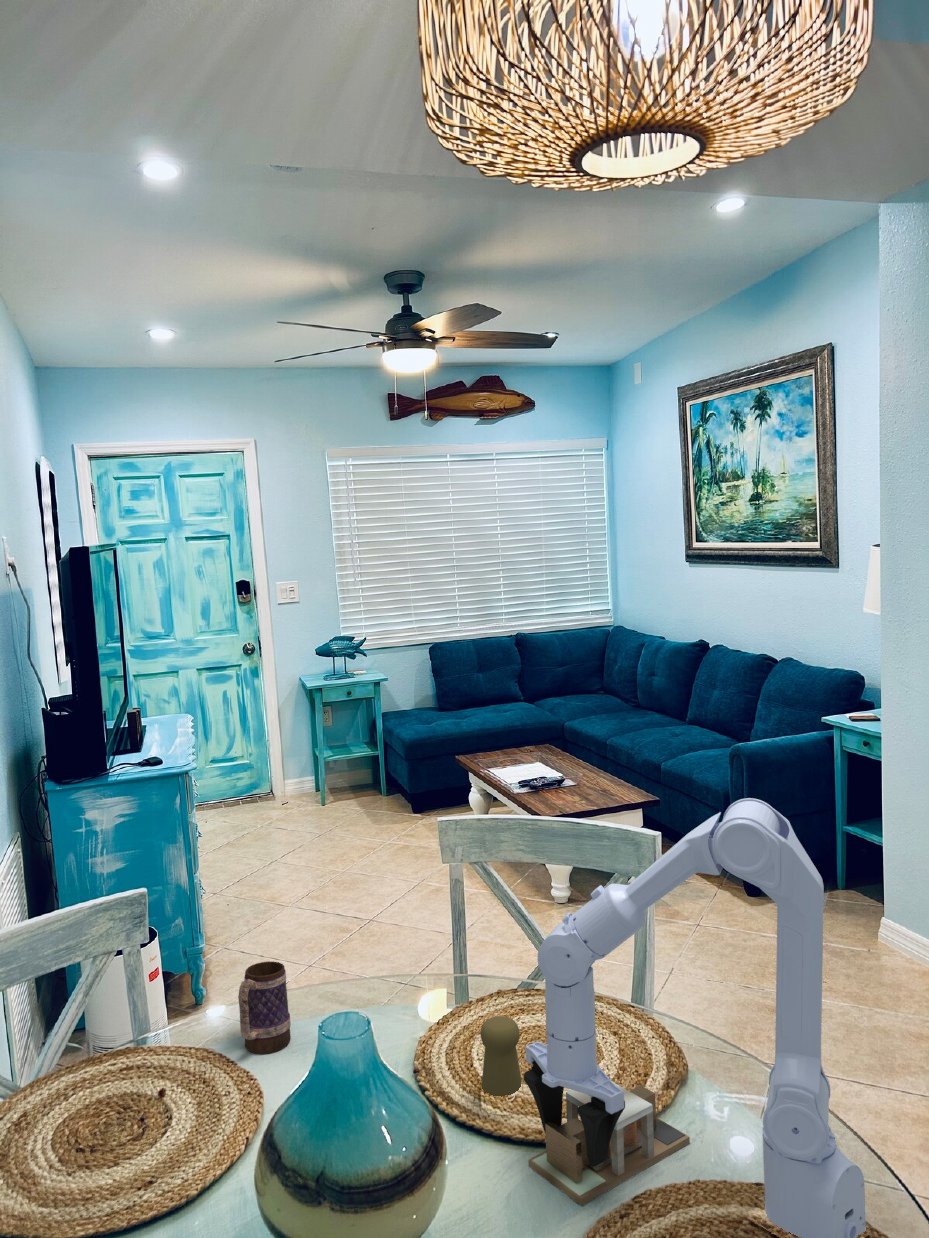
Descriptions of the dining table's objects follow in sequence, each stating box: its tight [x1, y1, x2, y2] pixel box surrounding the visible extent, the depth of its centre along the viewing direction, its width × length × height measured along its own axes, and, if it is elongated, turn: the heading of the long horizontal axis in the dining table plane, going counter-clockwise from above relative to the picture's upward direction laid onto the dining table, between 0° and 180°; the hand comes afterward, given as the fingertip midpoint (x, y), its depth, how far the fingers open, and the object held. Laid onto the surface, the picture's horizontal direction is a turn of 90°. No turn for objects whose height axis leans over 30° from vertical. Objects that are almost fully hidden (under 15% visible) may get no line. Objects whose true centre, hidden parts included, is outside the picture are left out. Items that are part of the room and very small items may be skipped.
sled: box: [545, 1085, 657, 1183], centre depth 106 cm, size 5×15×5 cm, turn 126°
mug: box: [237, 960, 292, 1055], centre depth 135 cm, size 10×7×12 cm
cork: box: [479, 1015, 523, 1097], centre depth 118 cm, size 6×6×11 cm
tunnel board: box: [528, 1081, 691, 1207], centre depth 106 cm, size 9×18×7 cm, turn 126°
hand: (574, 1145), depth 103 cm, fingers open, 7 cm apart
